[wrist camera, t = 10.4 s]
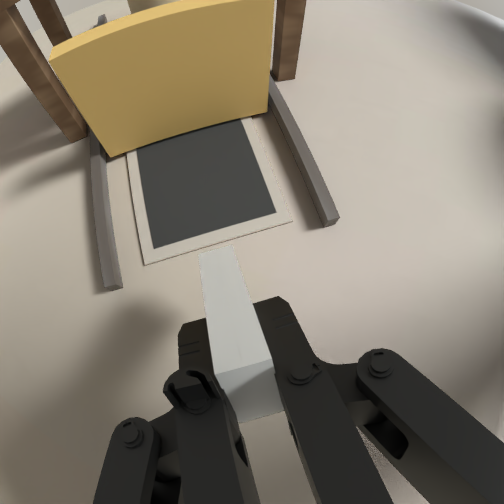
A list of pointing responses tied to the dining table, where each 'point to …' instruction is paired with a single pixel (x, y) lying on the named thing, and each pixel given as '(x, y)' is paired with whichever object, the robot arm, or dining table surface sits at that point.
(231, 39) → the yellow panel grey frame
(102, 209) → the wooden stand with rails
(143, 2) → the candle
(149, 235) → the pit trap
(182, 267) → the dining table surface
